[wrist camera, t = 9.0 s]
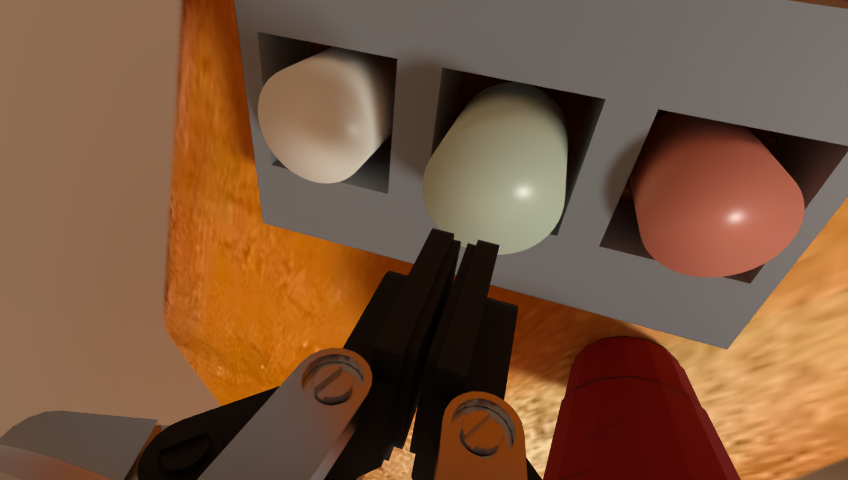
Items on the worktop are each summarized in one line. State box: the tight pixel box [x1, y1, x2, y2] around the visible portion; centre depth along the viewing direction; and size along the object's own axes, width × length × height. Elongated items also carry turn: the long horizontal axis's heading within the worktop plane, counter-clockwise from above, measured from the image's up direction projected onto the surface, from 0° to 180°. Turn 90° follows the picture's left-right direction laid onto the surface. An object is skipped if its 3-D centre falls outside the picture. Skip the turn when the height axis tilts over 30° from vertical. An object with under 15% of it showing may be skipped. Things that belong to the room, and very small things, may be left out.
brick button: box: [629, 112, 805, 277], centre depth 16 cm, size 4×4×5 cm
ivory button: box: [258, 46, 397, 184], centre depth 18 cm, size 4×4×5 cm
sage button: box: [422, 82, 568, 255], centre depth 16 cm, size 4×4×5 cm
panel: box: [234, 0, 848, 349], centre depth 18 cm, size 12×21×4 cm, turn 84°
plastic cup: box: [543, 336, 741, 480], centre depth 21 cm, size 11×11×12 cm
